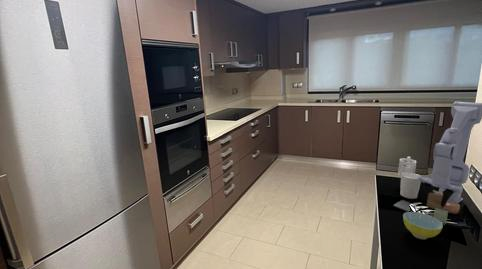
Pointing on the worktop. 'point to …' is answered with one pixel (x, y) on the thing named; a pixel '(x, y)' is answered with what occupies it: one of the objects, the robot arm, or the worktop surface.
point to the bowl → (422, 225)
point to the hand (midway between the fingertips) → (435, 203)
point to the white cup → (409, 185)
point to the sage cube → (440, 215)
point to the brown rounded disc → (452, 207)
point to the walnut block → (435, 200)
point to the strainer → (408, 166)
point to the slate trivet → (403, 205)
